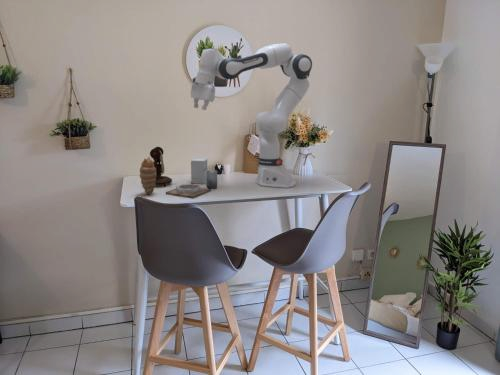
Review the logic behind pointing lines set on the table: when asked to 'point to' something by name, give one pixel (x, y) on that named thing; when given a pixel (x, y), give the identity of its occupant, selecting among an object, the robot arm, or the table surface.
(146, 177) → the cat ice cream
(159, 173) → the dark brown tall piece
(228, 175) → the table surface
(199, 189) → the ring board
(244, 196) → the table surface
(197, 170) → the supplement box
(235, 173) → the table surface
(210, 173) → the piston
